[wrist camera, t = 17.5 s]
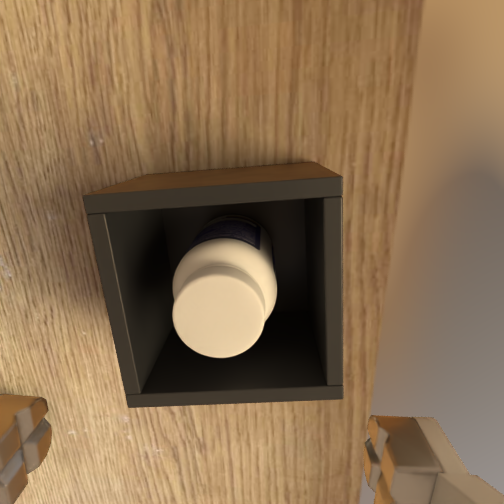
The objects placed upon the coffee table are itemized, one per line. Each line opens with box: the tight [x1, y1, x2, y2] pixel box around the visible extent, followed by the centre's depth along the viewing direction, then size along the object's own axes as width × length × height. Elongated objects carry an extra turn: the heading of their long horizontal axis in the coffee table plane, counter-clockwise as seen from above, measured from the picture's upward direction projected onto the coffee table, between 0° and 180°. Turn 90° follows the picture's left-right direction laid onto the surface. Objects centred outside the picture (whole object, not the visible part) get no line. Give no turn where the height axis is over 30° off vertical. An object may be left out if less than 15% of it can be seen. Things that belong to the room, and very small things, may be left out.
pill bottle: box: [172, 215, 277, 358], centre depth 20 cm, size 5×5×9 cm
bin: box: [83, 162, 343, 408], centre depth 20 cm, size 11×11×9 cm
